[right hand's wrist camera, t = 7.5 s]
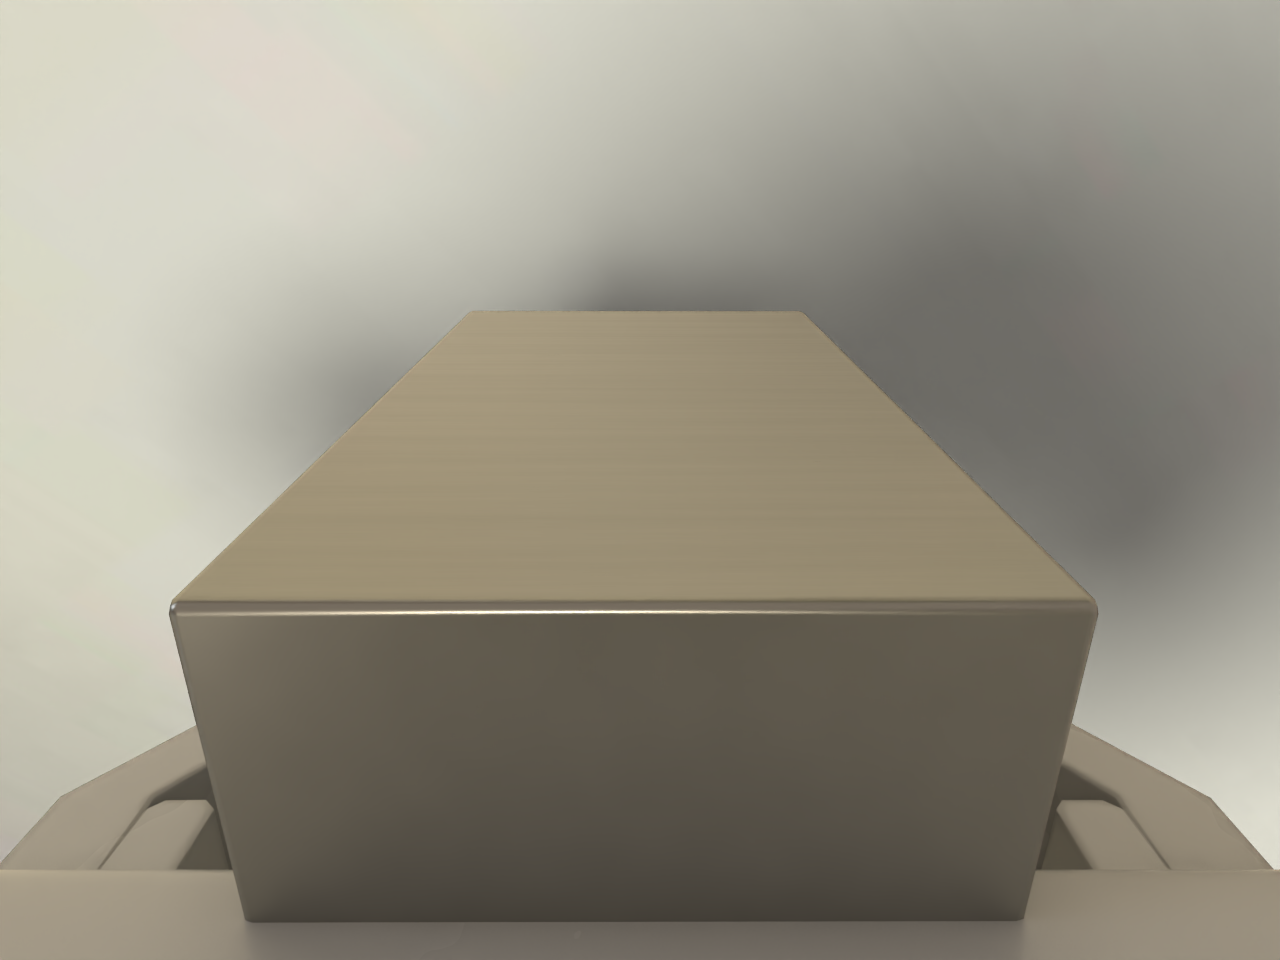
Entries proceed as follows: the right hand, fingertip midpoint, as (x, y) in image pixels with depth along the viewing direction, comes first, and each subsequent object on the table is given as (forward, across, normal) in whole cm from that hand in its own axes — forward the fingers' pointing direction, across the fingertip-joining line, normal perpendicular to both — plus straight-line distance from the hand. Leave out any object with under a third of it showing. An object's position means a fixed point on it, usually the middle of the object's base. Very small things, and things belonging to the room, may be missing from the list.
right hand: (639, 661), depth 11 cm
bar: (+3, 0, -10) cm, 10 cm away
